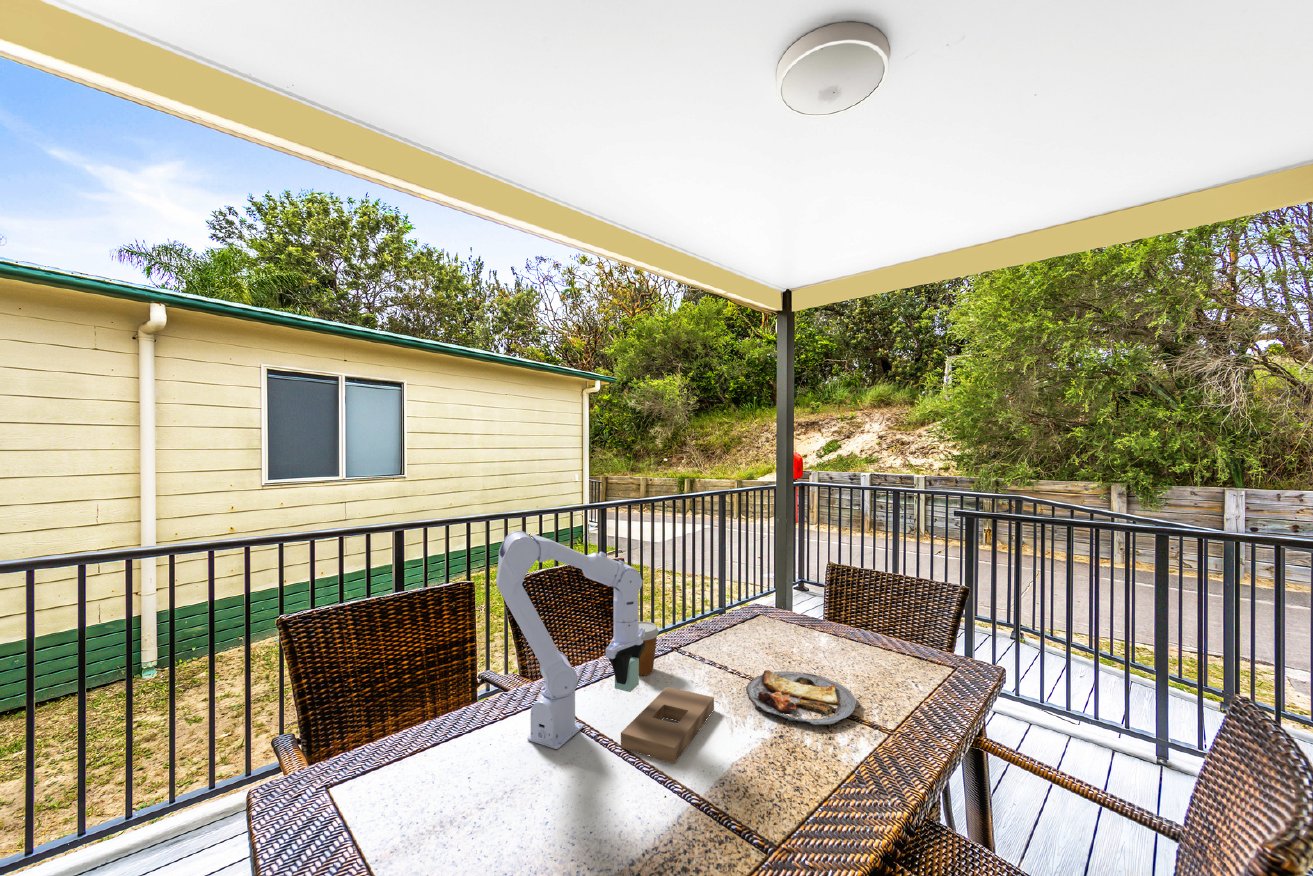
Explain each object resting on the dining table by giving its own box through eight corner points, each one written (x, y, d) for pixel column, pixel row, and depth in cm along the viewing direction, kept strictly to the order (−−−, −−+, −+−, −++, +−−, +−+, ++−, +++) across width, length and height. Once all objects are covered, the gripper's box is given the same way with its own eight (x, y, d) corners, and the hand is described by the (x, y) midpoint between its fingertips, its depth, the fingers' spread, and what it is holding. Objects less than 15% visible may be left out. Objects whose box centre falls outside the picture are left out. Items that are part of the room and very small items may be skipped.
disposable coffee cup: (644, 682, 130) (644, 635, 131) (616, 672, 136) (616, 628, 136) (665, 669, 138) (665, 625, 138) (639, 660, 144) (638, 618, 144)
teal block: (630, 692, 111) (630, 665, 111) (614, 688, 113) (614, 661, 113) (638, 684, 115) (638, 658, 115) (623, 681, 117) (623, 655, 117)
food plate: (733, 711, 116) (733, 695, 116) (761, 672, 136) (762, 659, 136) (848, 743, 104) (849, 725, 104) (860, 695, 124) (860, 681, 125)
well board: (674, 763, 96) (674, 748, 96) (620, 747, 102) (620, 732, 102) (714, 710, 116) (713, 697, 116) (667, 699, 121) (667, 686, 121)
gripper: (625, 631, 106) (625, 696, 106) (655, 611, 119) (656, 669, 119) (597, 626, 109) (597, 689, 109) (630, 607, 122) (630, 664, 122)
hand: (626, 678), depth 114 cm, fingers closed on teal block, 4 cm apart
